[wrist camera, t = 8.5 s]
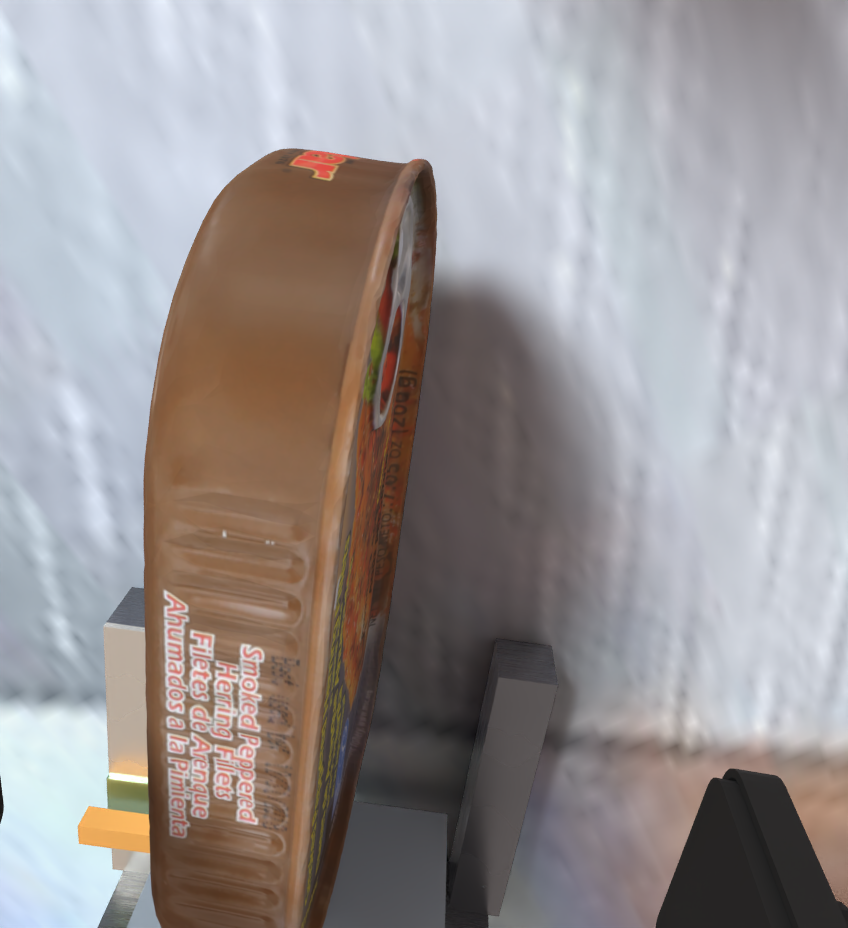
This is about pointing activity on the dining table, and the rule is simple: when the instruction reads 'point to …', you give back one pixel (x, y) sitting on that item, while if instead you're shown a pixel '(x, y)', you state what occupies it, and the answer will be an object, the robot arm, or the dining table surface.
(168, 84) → the dining table surface
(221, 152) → the dining table surface
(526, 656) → the frame
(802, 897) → the robot arm
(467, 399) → the dining table surface
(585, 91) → the dining table surface
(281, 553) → the tin
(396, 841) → the gauge carriage
